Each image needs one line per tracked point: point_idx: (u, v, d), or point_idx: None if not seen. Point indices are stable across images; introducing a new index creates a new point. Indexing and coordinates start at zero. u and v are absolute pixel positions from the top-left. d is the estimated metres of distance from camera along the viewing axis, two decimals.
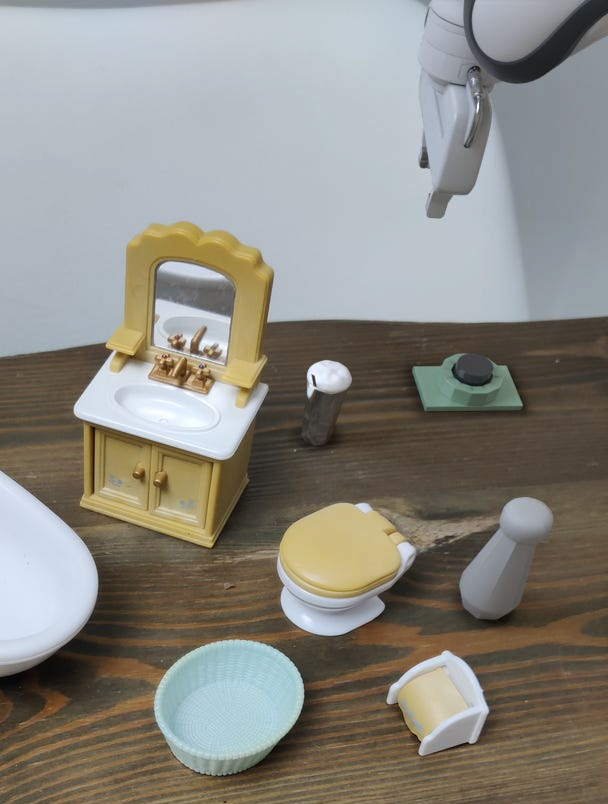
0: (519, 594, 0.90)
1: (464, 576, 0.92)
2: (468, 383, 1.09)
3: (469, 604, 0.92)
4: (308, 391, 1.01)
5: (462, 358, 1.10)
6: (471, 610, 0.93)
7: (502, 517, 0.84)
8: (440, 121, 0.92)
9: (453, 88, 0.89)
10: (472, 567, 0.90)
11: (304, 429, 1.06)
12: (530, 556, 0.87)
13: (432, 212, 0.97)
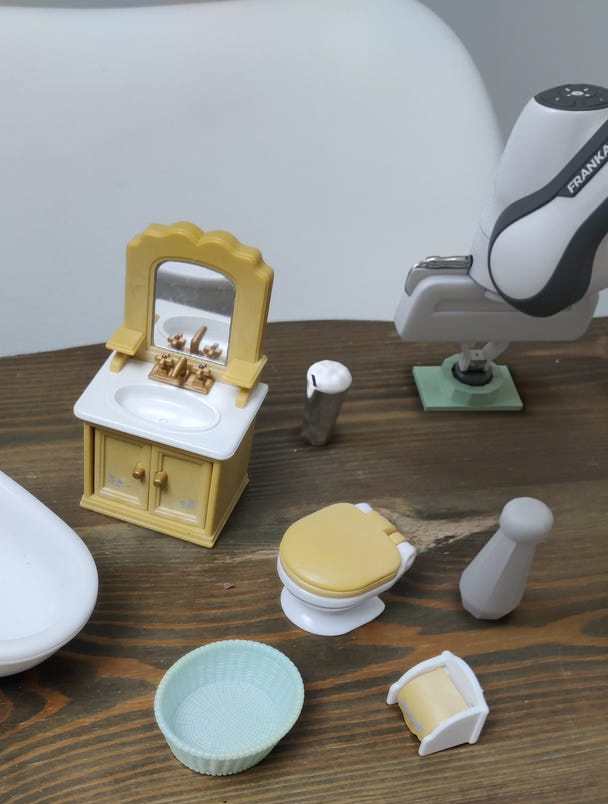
0: (519, 594, 0.90)
1: (464, 576, 0.92)
2: None
3: (469, 604, 0.92)
4: (308, 391, 1.01)
5: None
6: (471, 610, 0.93)
7: (502, 517, 0.84)
8: None
9: None
10: (472, 567, 0.90)
11: (304, 429, 1.06)
12: (530, 556, 0.87)
13: (460, 361, 1.09)
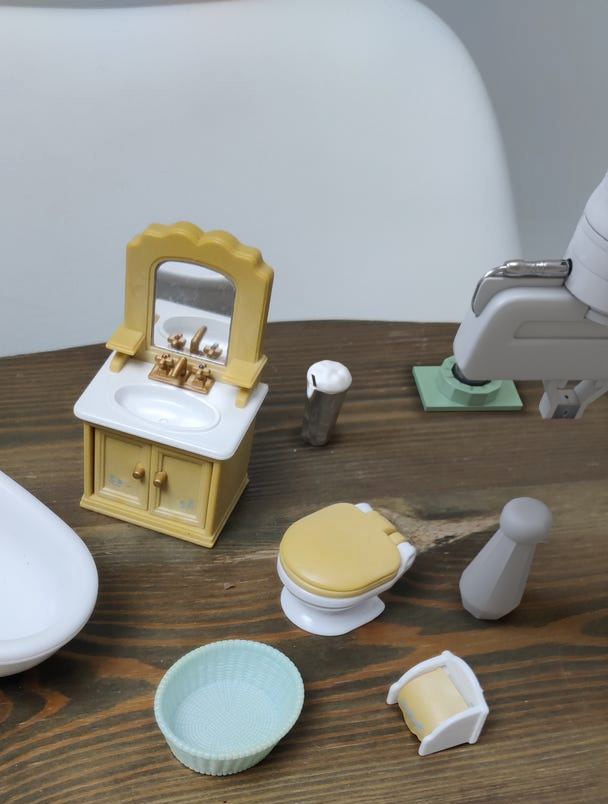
0: (519, 594, 0.90)
1: (464, 576, 0.92)
2: (468, 383, 1.09)
3: (469, 604, 0.92)
4: (308, 391, 1.01)
5: None
6: (471, 610, 0.93)
7: (502, 517, 0.84)
8: None
9: None
10: (472, 567, 0.90)
11: (304, 429, 1.06)
12: (530, 556, 0.87)
13: (542, 405, 0.79)
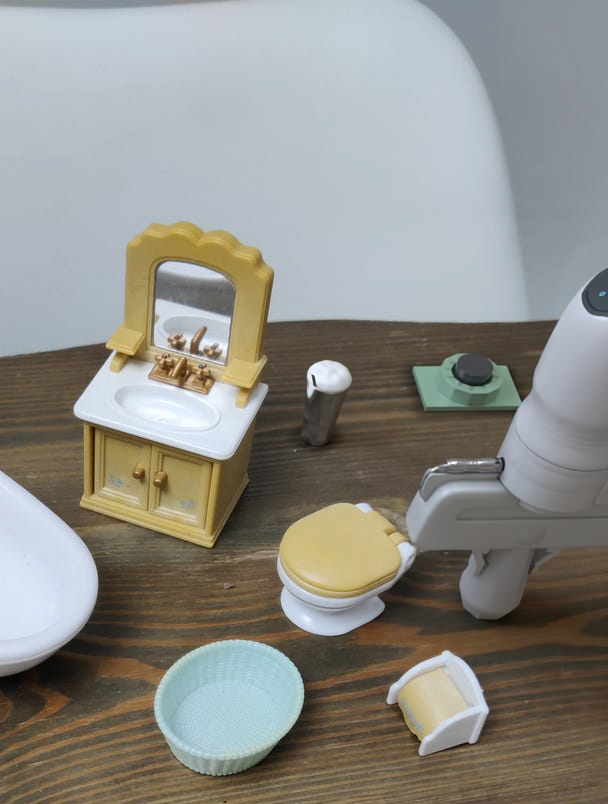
0: (519, 594, 0.90)
1: (464, 576, 0.92)
2: (468, 383, 1.09)
3: (469, 604, 0.92)
4: (308, 391, 1.01)
5: (462, 358, 1.10)
6: (471, 610, 0.93)
7: None
8: None
9: None
10: None
11: (304, 429, 1.06)
12: (530, 556, 0.87)
13: (471, 563, 0.90)
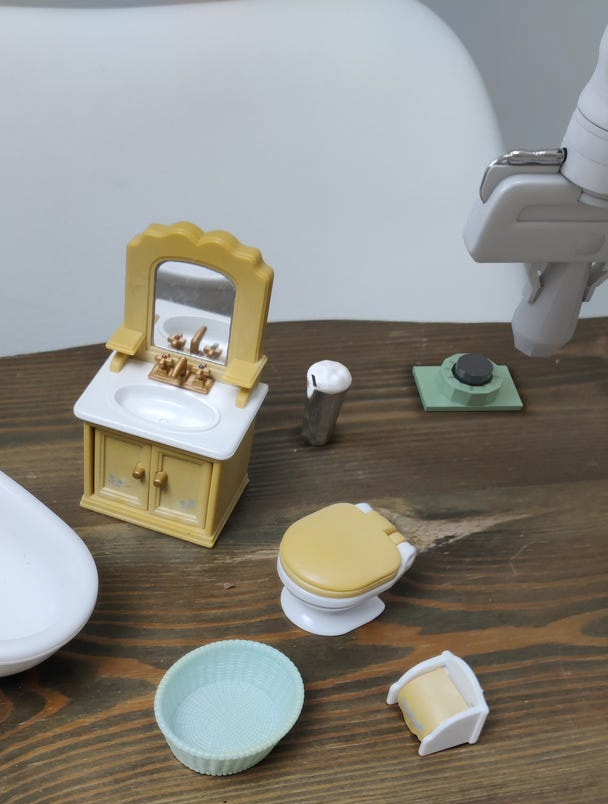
0: (573, 323, 0.90)
1: (517, 310, 0.92)
2: (468, 383, 1.09)
3: (522, 338, 0.92)
4: (308, 391, 1.01)
5: (462, 358, 1.10)
6: (523, 347, 0.93)
7: None
8: None
9: None
10: None
11: (304, 429, 1.06)
12: (586, 274, 0.87)
13: (525, 290, 0.90)
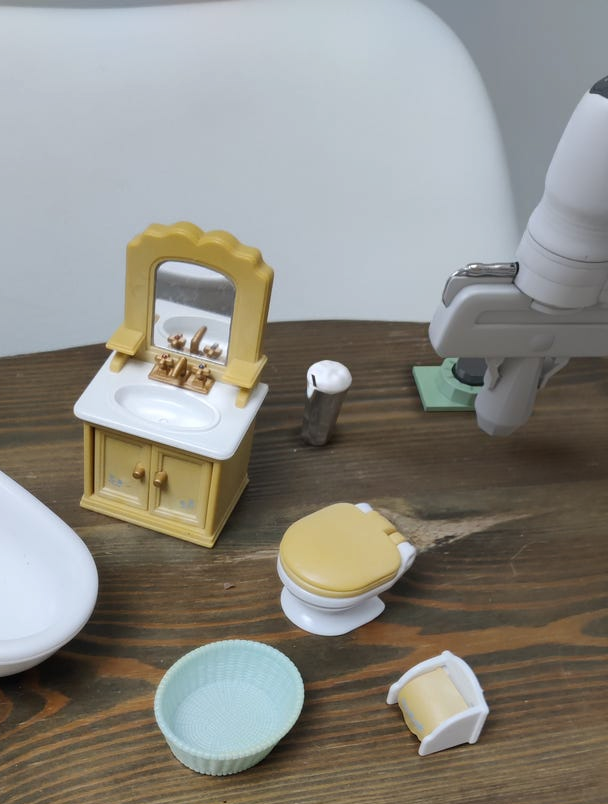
0: (529, 408, 1.00)
1: (479, 395, 1.01)
2: (468, 383, 1.09)
3: (484, 419, 1.01)
4: (308, 391, 1.01)
5: (462, 358, 1.10)
6: (485, 427, 1.02)
7: None
8: None
9: None
10: None
11: (304, 429, 1.06)
12: (539, 367, 0.96)
13: (486, 378, 0.99)
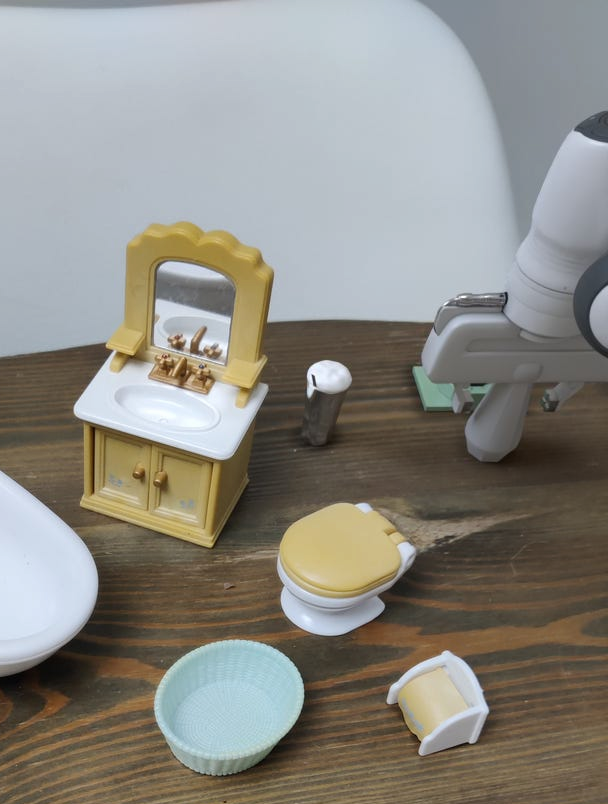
0: (518, 435, 1.02)
1: (469, 422, 1.04)
2: None
3: (473, 446, 1.04)
4: (308, 391, 1.01)
5: None
6: (475, 453, 1.05)
7: None
8: None
9: None
10: (476, 412, 1.03)
11: (304, 429, 1.06)
12: (527, 396, 0.99)
13: (454, 402, 1.02)
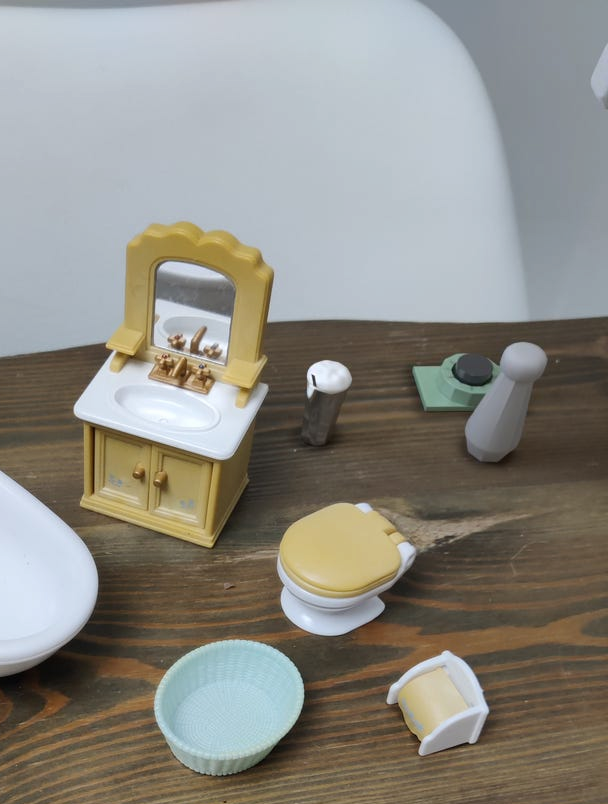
0: (518, 435, 1.02)
1: (469, 422, 1.04)
2: (468, 383, 1.09)
3: (473, 446, 1.04)
4: (308, 391, 1.01)
5: (462, 358, 1.10)
6: (475, 453, 1.05)
7: (503, 359, 0.97)
8: None
9: None
10: (476, 412, 1.03)
11: (304, 429, 1.06)
12: (527, 396, 0.99)
13: None
